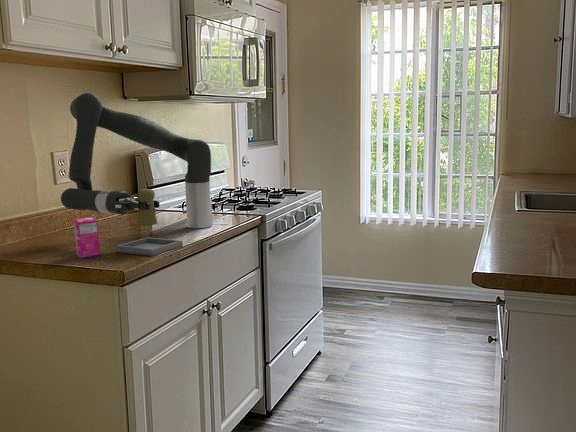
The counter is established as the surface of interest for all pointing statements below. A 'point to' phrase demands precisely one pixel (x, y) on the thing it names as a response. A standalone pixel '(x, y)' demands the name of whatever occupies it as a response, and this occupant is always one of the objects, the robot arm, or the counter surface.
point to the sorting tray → (149, 246)
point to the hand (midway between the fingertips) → (153, 205)
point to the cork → (147, 215)
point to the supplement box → (87, 238)
